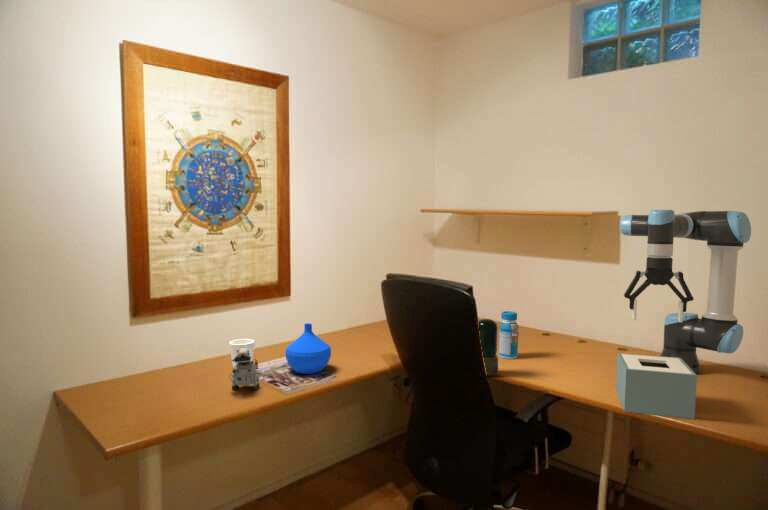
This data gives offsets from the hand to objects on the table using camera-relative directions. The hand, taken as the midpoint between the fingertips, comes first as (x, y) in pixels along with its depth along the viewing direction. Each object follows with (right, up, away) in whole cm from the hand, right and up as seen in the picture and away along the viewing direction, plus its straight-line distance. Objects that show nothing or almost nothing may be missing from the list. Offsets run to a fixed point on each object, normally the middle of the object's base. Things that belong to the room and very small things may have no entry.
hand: (656, 320), depth 169 cm
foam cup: (-147, -26, +33) cm, 153 cm away
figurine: (-141, -27, +15) cm, 144 cm away
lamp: (-50, -26, +34) cm, 66 cm away
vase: (-121, -25, +38) cm, 129 cm away
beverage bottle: (-35, -24, +58) cm, 72 cm away
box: (0, -28, +2) cm, 29 cm away
